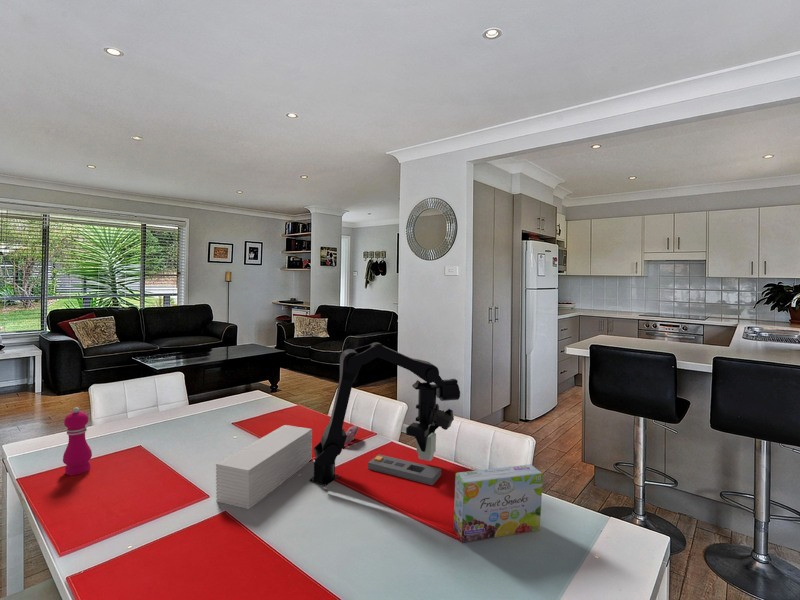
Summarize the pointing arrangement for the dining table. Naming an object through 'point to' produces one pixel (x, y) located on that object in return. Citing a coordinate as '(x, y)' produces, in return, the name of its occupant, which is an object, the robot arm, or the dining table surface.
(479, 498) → the snack box
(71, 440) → the pepper mill
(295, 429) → the stack of papers
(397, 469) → the power strip
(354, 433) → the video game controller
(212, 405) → the dining table surface
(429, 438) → the block
